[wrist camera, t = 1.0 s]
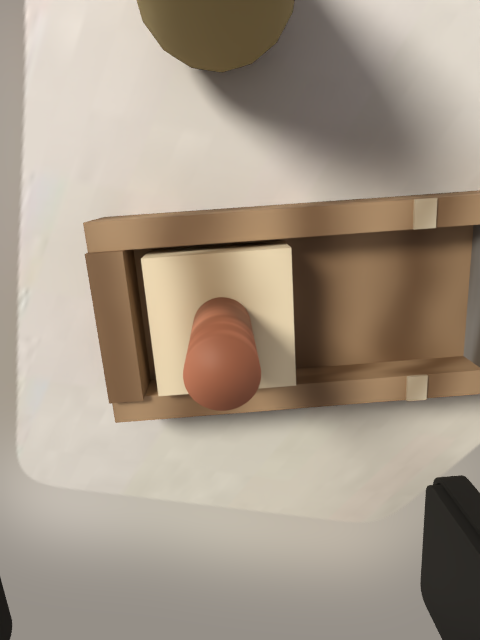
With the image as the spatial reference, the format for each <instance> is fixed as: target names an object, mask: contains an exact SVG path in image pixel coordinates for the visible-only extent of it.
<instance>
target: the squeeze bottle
mask: <svg viewBox="0 0 480 640" xmlns="http://www.w3.org/2000/svg"><path fill="white" fill-rule="evenodd" d="M137 3H138V7H139V10H140V14H141V17H142V20H143V22H144V24H145V25H146V27H147V28H148V29H149V31H150V32H151V33H152V35H153V36H154V38H155V39H156V40H157V42H158V43H159V45H160V46H161V47H162V49H163V50H164V51H166V52H167V53H169V54H171V55H172V56H174V57H175V58H177V59H178V60H180V61H181V62H183V63H185V64H186V65H188V66H189V67H191V68H197V69H203V70H210V71H216V72H225V71H228V70H232V69H235V68H239V67H242V66H246V65H249V64H252V63H253V62H254V61H255V60H257V59H258V58H259V57H260V56H261V55H263V54H264V53H265V52H266V51H267V50H268V49H270V48H271V47H272V46H273V45H274V44H276V43H277V41H278V39H279V37H280V35H281V33H282V31H283V30H284V28H285V26H286V24H287V22H288V20H289V18H290V16H291V14H292V13H293V7H294V0H137Z"/></svg>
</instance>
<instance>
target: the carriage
mask: <svg viewBox="0 0 480 640" xmlns="http://www.w3.org/2000/svg"><path fill="white" fill-rule="evenodd" d="M141 264H142V272H143V280H144V287H145V295H146V303H147V311H148V318H149V326H150V334H151V342H152V349H153V357H154V365H155V373H156V380H157V388H158V396H169V395H181V394H189V395H190V396H191V397H192V398H193V400H195V401H196V402H197V403H198V404H200V405H201V406H204V407H206V408H208V409H212V410H217V411H227V410H232V409H236V408H238V407H240V406H242V405H244V404H245V403H247V402H248V401H249V400H250V399H251V398H252V397H253V396H254V395H255V393H256V392H257V390H258V389H259V388H272V387H285V386H296V367H295V338H294V309H293V281H292V252H291V247H290V246H289V245H288V244H287V243H285V242H284V241H274V242H260V243H246V244H232V245H218V246H205V247H191V248H177V249H163V250H150V251H149V252H148V253H147V254H145V255H144V256H143V257H142V258H141Z"/></svg>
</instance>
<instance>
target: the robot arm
mask: <svg viewBox="0 0 480 640" xmlns="http://www.w3.org/2000/svg"><path fill="white" fill-rule="evenodd" d="M424 517H425V518H424V533H423V551H422V568H421V592H422V596H423V600H424V602H425V605H426V607H427V609H428V611H429V613H430V615H431V617H432V619H433V621H434V623H435V625H436V628H437V629H438V632H439V634H440V635H441V638H442V640H480V493H479V492H478V490H477V489H476V488H475V487H474V486H473V485H472V483H471V482H470V481H469V480H468V479H467V478H466V477H465V476H450V477H438V478H435V480H434V482H433V485H429V486H427V488H426V499H425V516H424ZM11 632H12V619H11V615H10V612H9V608H8V604H7V600H6V597H5V593H4V590H3V586H2V582H1V578H0V640H10V637H11Z"/></svg>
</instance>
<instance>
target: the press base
mask: <svg viewBox="0 0 480 640" xmlns="http://www.w3.org/2000/svg"><path fill="white" fill-rule="evenodd" d="M83 225H84V231H85V237H86V243H87V250H88V253H86V254H85V258H86V264H87V271H88V277H89V283H90V289H91V295H92V301H93V307H94V313H95V319H96V326H97V332H98V338H99V344H100V350H101V356H102V362H103V368H104V374H105V381H106V387H107V393H108V399H109V403H112V404H113V411H114V417H115V423H117V422H130V421H142V420H155V419H168V418H181V417H193V416H206V415H219V414H232V413H244V412H257V411H270V410H283V409H295V408H308V407H321V406H334V405H346V404H359V403H372V402H385V401H397V400H406V401H417V400H427V398H436V397H448V396H461V395H474V394H480V191H467V192H453V193H439V194H425V195H411V196H397V197H383V198H368V199H354V200H340V201H326V202H312V203H298V204H284V205H270V206H255V207H241V208H227V209H213V210H199V211H185V212H171V213H157V214H142V215H128V216H114V217H103V218H99V219H95V220H92V221H88V222H84V223H83ZM274 241H284V242H285V243H287V244H288V245H289V246H290V247H291V252H292V281H293V309H294V338H295V367H296V386H285V387H272V388H259V389H258V390H257V392H256V393H255V395H254V396H253V397H252V398H251V399H250V400H249V401H248V402H247V403H245V404H244V405H242V406H240V407H238V408H236V409H232V410H227V411H217V410H212V409H208V408H206V407H204V406H201V405H200V404H198V403H197V402H196V401H195V400H193V398H192V397H191V396H190V395H189V394H181V395H169V396H158V388H157V380H156V373H155V365H154V357H153V349H152V342H151V334H150V326H149V318H148V311H147V303H146V295H145V287H144V280H143V272H142V264H141V258H142V257H143V256H144V255H145V254H147V253H148V252H149V251H150V250H163V249H177V248H191V247H205V246H218V245H232V244H246V243H260V242H274Z"/></svg>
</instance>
